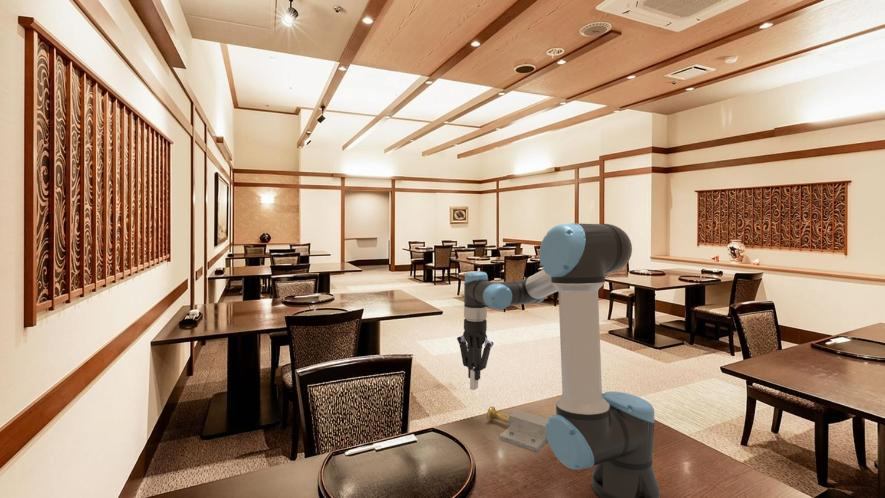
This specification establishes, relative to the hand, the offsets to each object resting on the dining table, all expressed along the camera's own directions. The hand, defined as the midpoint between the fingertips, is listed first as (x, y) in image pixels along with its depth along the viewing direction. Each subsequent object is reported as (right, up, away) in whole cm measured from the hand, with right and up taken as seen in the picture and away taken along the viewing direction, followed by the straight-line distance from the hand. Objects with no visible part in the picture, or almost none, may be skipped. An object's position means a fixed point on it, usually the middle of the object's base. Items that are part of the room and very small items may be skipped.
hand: (474, 388), depth 141 cm
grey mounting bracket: (+16, -10, -11) cm, 22 cm away
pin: (+11, -10, -7) cm, 16 cm away
